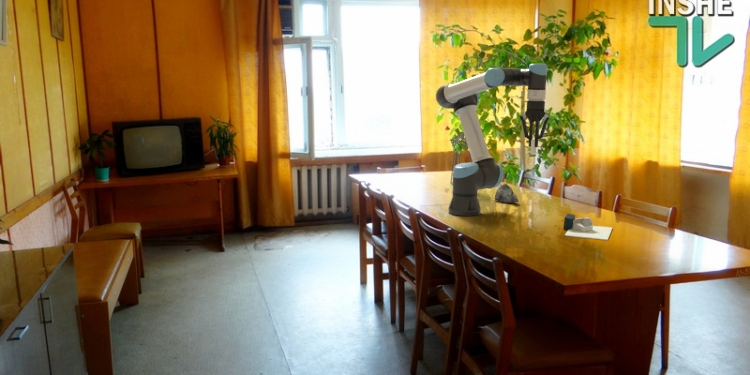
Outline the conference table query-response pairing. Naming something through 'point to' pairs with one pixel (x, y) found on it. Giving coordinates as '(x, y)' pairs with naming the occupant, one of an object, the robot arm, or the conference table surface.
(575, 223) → the watch
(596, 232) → the felt mat
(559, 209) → the conference table surface
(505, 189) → the mineral rock
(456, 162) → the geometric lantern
